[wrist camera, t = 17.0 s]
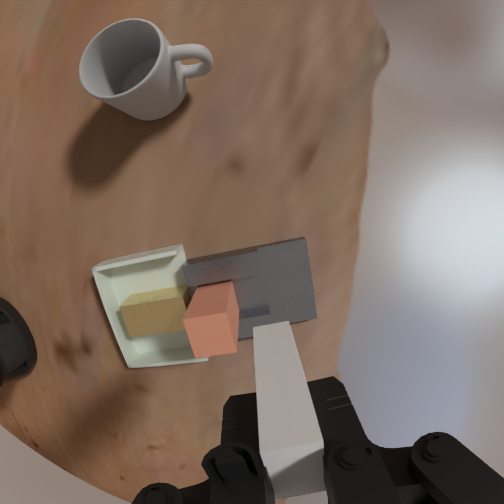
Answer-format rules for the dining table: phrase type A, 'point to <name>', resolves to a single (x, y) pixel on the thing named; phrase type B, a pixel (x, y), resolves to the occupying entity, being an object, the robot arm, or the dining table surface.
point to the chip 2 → (170, 307)
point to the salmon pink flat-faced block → (213, 319)
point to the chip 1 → (139, 314)
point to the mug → (140, 69)
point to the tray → (136, 281)
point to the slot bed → (261, 282)
